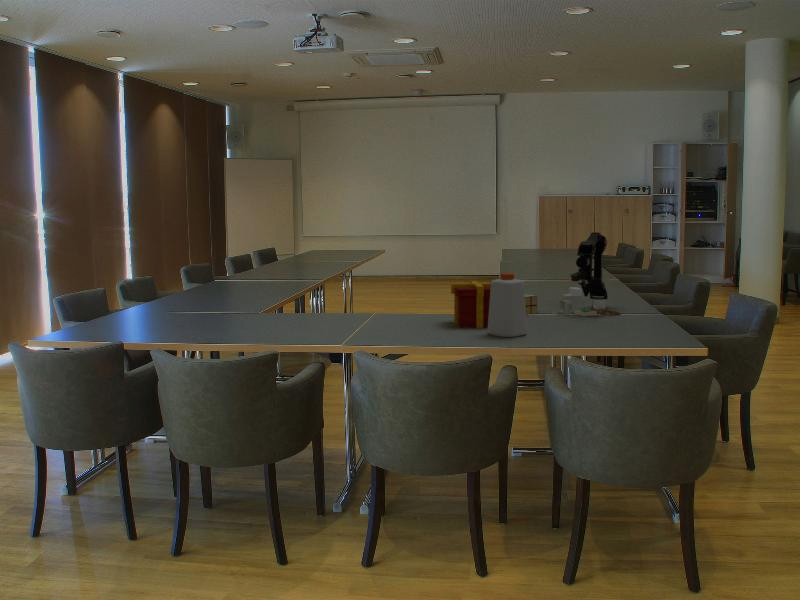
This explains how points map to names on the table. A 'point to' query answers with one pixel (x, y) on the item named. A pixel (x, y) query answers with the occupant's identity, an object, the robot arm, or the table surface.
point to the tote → (561, 314)
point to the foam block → (573, 295)
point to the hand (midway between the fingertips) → (585, 296)
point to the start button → (585, 309)
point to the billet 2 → (599, 304)
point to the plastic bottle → (507, 307)
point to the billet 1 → (565, 307)
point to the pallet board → (607, 312)
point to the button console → (585, 313)
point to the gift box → (471, 304)
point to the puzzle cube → (530, 304)
